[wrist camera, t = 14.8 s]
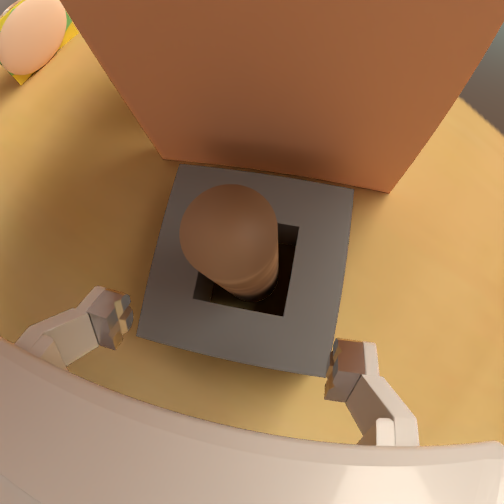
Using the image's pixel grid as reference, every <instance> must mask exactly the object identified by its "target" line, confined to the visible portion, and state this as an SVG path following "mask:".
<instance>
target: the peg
mask: <svg viewBox="0 0 504 504" xmlns="http://www.w3.org/2000/svg"><path fill="white" fill-rule="evenodd" d="M179 237H180V244H181V248H182V251H183V253H184V255H185V257H186V259H187V260H188V261H189V263H190V264H191V265H192V266H193V267H194V268H195V269H196V270H198V271H199V272H201V273H202V274H203V275H205V276H206V277H208V278H209V279H211V280H212V281H214V282H215V283H216V284H218V285H219V286H221V287H222V288H224V289H225V290H227V291H228V292H230V293H231V294H233V295H234V296H236V297H237V298H239V299H241V300H243V301H247V302H257V301H261V300H263V299H265V298H267V297H268V296H269V295H270V294H271V293H272V292H273V291H274V290H275V288H276V286H277V283H278V277H279V274H278V224H277V219H276V215H275V212H274V210H273V208H272V206H271V205H270V204H269V202H268V201H267V200H266V199H265V198H264V197H263V196H262V195H261V194H260V193H258V192H257V191H255V190H253V189H251V188H249V187H246V186H243V185H238V184H224V185H219V186H215V187H212V188H210V189H208V190H206V191H204V192H203V193H201V194H200V195H199V196H197V197H196V198H195V199H194V200H193V201H192V202H191V203H190V205H189V206H188V207H187V209H186V211H185V213H184V215H183V217H182V220H181V224H180V231H179Z"/></svg>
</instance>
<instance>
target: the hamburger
mask: <svg viewBox="0 0 504 504" xmlns="http://www.w3.org/2000/svg"><path fill="white" fill-rule="evenodd" d="M78 33H79V32H78V31H77V29H76V27H75V26H74V24H73V23H72V20H71V18H70V17H69V15H68V14H67V12H66V10H65V9H64V7H63V5H62V3H61V2H60V1H59V0H19V1H17V2H15V3H13V4H12V5H11V6H9V7H8V8H7V9H6V11H4V12H3V13H2V15H1V16H0V64H1V65H2V66H3V67H4V68H5V69H6V70H7V71H8V72H9V73H10V74H11V75H12V76H13V77H14V78H15V79H16V81H17V82H18V83H19V84H20V85H22V84H23V83H24V82H25V81H26V80H27V79H28V78H29V77H30V76H31V75H32V74H33V73H34V72H35V71H37V70H38V69H40V68H41V67H43V66H44V65H45V64H46V63H48V61H49V60H50V59H51V58H52V57H53V56H54V54H55V53H56V52H57V51H58V50H59V49H60V48H61V47H62V46H63V45H65V44H66V43H67V42H68V41H69V40H71V39H72V38H73V37H74V36H76V35H77V34H78Z"/></svg>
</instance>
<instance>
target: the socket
mask: <svg viewBox="0 0 504 504" xmlns="http://www.w3.org/2000/svg"><path fill="white" fill-rule="evenodd" d="M224 184H238V185H243V186H246V187H249V188H251V189H253V190H255V191H257V192H258V193H260V194H261V195H262V196H263V197H264V198H265V199H266V200H267V201H268V202H269V204H270V205H271V206H272V208H273V210H274V212H275V215H276V219H277V224H278V243H281V244H287V245H292V246H296V247H295V253H294V258H293V264H292V270H291V275H290V281H289V286H288V292H287V297H286V303H285V308H284V313H283V317H282V316H277V315H272V314H266V313H261V312H256V311H250V310H245V309H240V308H235V307H230V306H225V305H221V304H216V303H211V302H210V300H211V295H212V290H213V286H214V281H212V280H211V279H209V278H208V277H206V276H205V275H203V274H202V273H201V272H199V271H198V270H196V269H195V268H194V267H193V266H192V265H191V264H190V263H189V261H188V260H187V259H186V257H185V255H184V253H183V251H182V248H181V244H180V237H179V231H180V224H181V220H182V217H183V215H184V213H185V211H186V209H187V207H188V206H189V205H190V203H191V202H192V201H193V200H194V199H195V198H196V197H197V196H199V195H200V194H201V193H203V192H204V191H206V190H208V189H210V188H212V187H215V186H219V185H224ZM353 197H354V189H350V188H345V187H339V186H334V185H329V184H323V183H317V182H312V181H306V180H300V179H294V178H287V177H281V176H274V175H268V174H261V173H254V172H246V171H239V170H231V169H223V168H214V167H205V166H196V165H187V164H179V167H178V171H177V174H176V177H175V180H174V184H173V187H172V190H171V194H170V197H169V201H168V204H167V208H166V211H165V215H164V218H163V222H162V226H161V229H160V233H159V237H158V241H157V245H156V249H155V253H154V257H153V261H152V265H151V269H150V273H149V278H148V282H147V286H146V291H145V295H144V300H143V305H142V309H141V314H140V319H139V324H138V329H137V334H136V336H137V337H141V338H144V339H148V340H151V341H155V342H158V343H162V344H165V345H169V346H173V347H176V348H180V349H184V350H188V351H192V352H196V353H200V354H204V355H208V356H212V357H217V358H221V359H226V360H230V361H235V362H239V363H244V364H249V365H254V366H259V367H264V368H269V369H275V370H280V371H286V372H292V373H298V374H304V375H310V376H317V377H324V378H326V376H325V374H326V365H327V361H328V357H329V354H330V352H331V350H332V345H333V340H334V334H335V329H336V323H337V318H338V312H339V306H340V300H341V294H342V287H343V280H344V274H345V267H346V259H347V252H348V244H349V235H350V227H351V217H352V207H353Z"/></svg>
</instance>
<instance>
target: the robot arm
mask: <svg viewBox="0 0 504 504" xmlns="http://www.w3.org/2000/svg"><path fill="white" fill-rule="evenodd" d="M130 302H131V300H130V296H129V295H128V294H125V293H122V292H118V291H115V290H112V289H108V288H104V287H101V286H95V287H94V288H93V289H92V290H91V291H90V293H89V294H88V295H87V296H86V297H85V298H84V299H83V301H82V302H81V303H80V304H79V305H78V306H77V308H76V309H75V308H71V309H69V310H67V311H64V312H62V313H59V314H57V315H55V316H52V317H50V318H48V319H45V320H43V321H40V322H38V323H36V324H33V325H31V326H29V327H28V328H27V329H26V331H25V332H24V333H23V334H22V335H21V337H20V338H19V339H18V340H17V341H16V342H15V344H13V343H11V342H9V341H8V340H6V339H4V338H3V337H1V336H0V504H504V445H502V444H501V443H500V442H498V441H485V442H477V443H467V444H454V445H437V446H419V436H418V426H417V419H416V417H415V416H414V415H413V414H412V412H411V411H410V410H409V408H408V407H407V406H406V405H405V403H404V402H403V401H402V400H401V398H400V397H399V396H398V395H397V393H396V392H395V391H394V390H393V388H392V387H391V386H390V385H389V384H388V382H387V381H386V380H385V379H384V377H381V376H379V366H378V357H377V348H376V344H375V343H373V342H365V341H357V340H349V339H342V338H336V340H335V342H334V344H333V351H332V352H330V354H329V357H328V361H327V365H326V374H325V376H326V377H327V382H326V384H325V393H324V399H325V400H331V401H338V402H345V404H346V406H347V408H348V409H349V411H350V413H351V415H352V417H353V418H354V420H355V422H356V424H357V426H358V427H359V429H360V431H361V433H362V435H363V437H362V438H361V440H360V441H359V442H358V443H357V444H356V445H355V444H342V443H331V442H321V441H313V440H305V439H298V438H291V437H284V436H278V435H272V434H266V433H261V432H256V431H251V430H246V429H241V428H236V427H232V426H227V425H223V424H219V423H215V422H211V421H207V420H203V419H199V418H195V417H192V416H188V415H185V414H181V413H178V412H174V411H171V410H168V409H164V408H161V407H158V406H155V405H152V404H149V403H146V402H143V401H140V400H137V399H135V398H132V397H129V396H126V395H123V394H121V393H118V392H116V391H113V390H110V389H108V388H105V387H103V386H100V385H98V384H95V383H93V382H91V381H88V380H86V379H84V378H81V377H79V376H77V375H75V374H72V373H70V372H69V371H68V369H67V367H66V366H67V365H69V364H71V363H72V362H74V361H75V360H77V359H79V358H80V357H82V356H84V355H85V354H87V353H88V352H90V351H92V350H93V349H95V348H96V347H98V346H99V345H101V346H104V347H107V348H110V349H113V350H117V348H118V346H119V345H120V343H121V342H122V340H123V335H122V334H124V333H126V332H128V331H129V329H130V328H131V325H132V322H133V310H132V309H131V308H130V306H129V304H130Z"/></svg>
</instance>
